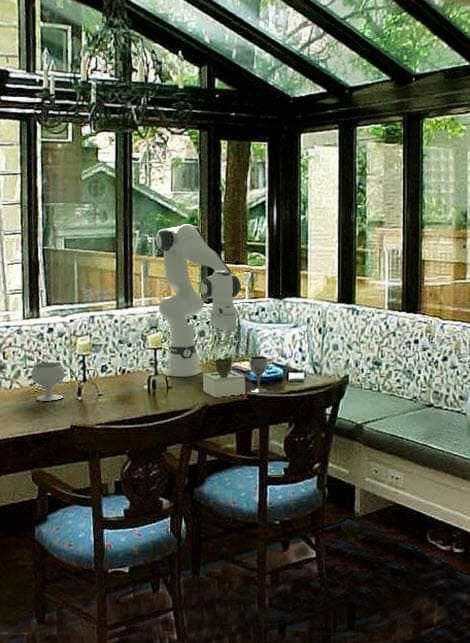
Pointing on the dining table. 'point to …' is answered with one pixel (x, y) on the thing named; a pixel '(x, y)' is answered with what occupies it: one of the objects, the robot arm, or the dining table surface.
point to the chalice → (48, 378)
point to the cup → (223, 366)
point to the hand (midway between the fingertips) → (222, 339)
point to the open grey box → (223, 384)
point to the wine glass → (258, 369)
